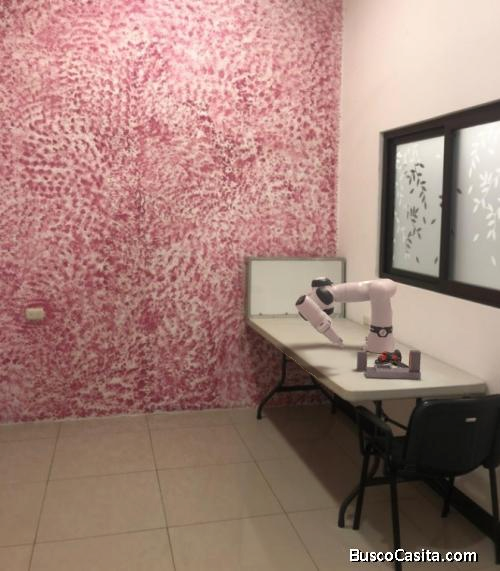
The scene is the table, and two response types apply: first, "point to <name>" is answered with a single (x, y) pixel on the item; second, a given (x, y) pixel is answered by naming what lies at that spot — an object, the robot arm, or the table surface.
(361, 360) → the block
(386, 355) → the valve
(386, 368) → the grey base with post
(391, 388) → the table surface
